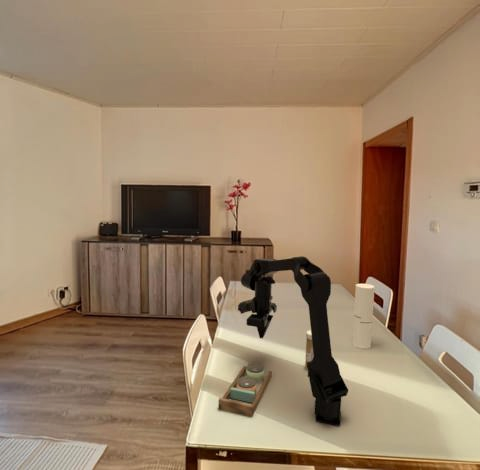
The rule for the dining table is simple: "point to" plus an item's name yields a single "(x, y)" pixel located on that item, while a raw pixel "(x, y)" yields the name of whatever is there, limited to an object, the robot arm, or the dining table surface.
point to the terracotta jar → (247, 383)
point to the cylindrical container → (363, 316)
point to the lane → (239, 406)
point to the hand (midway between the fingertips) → (261, 337)
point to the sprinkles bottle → (309, 348)
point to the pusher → (242, 394)
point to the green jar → (255, 371)
